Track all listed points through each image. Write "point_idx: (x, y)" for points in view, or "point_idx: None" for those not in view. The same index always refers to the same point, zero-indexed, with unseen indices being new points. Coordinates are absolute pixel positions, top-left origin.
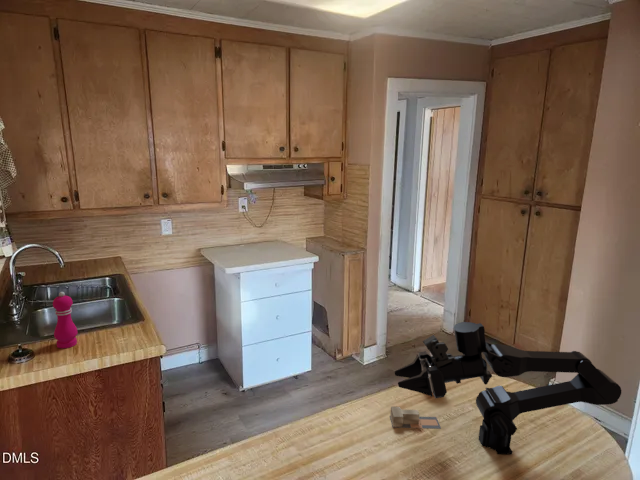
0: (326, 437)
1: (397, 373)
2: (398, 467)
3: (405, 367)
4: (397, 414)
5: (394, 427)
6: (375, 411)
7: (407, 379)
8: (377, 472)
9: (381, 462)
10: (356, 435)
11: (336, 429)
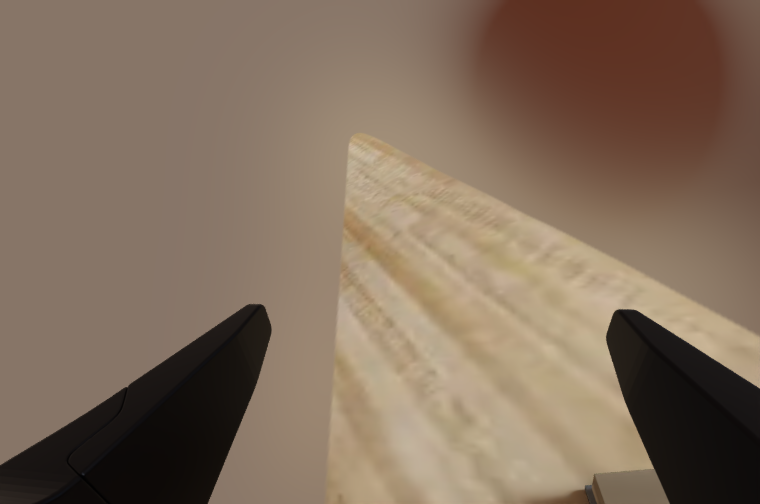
0: (465, 264)
1: (618, 343)
2: (356, 490)
3: (713, 405)
4: (628, 502)
5: (589, 497)
6: None
7: (186, 356)
8: (338, 412)
9: (377, 426)
10: (497, 338)
11: (510, 279)
